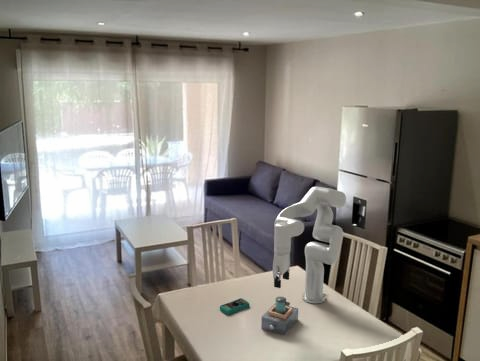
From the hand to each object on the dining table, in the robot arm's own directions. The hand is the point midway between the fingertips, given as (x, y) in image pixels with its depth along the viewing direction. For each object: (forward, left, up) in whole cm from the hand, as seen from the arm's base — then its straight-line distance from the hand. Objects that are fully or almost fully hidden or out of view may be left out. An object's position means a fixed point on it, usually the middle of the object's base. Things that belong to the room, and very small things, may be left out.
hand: (281, 283), depth 203 cm
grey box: (0, 0, -21) cm, 21 cm away
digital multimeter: (-2, -27, -22) cm, 34 cm away
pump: (0, 0, -15) cm, 15 cm away
